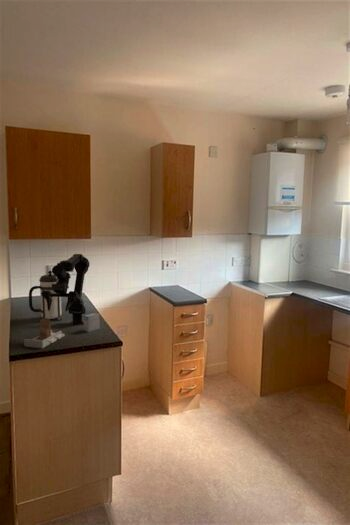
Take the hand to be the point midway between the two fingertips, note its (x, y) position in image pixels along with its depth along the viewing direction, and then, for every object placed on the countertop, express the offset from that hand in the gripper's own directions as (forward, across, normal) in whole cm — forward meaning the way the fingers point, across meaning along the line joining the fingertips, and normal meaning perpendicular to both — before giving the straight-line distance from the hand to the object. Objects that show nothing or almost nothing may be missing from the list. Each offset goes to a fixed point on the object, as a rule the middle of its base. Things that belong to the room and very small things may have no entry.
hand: (57, 310), depth 194 cm
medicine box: (+3, +12, +23) cm, 26 cm away
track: (+14, -6, +6) cm, 16 cm away
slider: (+13, -6, +5) cm, 15 cm away
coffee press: (-7, -20, +38) cm, 44 cm away
